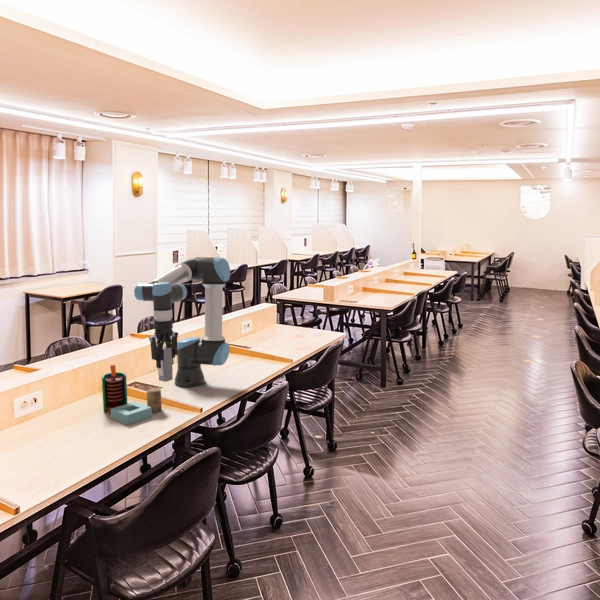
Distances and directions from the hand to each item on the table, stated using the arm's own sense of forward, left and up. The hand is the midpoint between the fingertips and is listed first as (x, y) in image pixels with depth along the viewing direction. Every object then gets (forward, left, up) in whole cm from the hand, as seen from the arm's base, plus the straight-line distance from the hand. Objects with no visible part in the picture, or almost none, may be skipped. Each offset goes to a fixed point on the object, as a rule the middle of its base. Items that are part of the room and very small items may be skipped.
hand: (165, 373), depth 227 cm
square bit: (0, 0, -3) cm, 3 cm away
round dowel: (0, -10, -19) cm, 21 cm away
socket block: (+11, -11, -19) cm, 24 cm away
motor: (+10, -25, -19) cm, 32 cm away
